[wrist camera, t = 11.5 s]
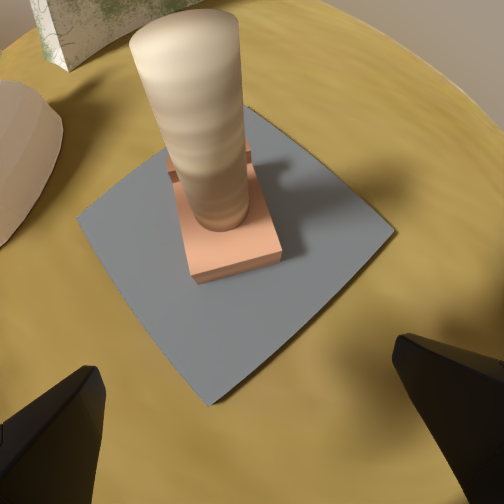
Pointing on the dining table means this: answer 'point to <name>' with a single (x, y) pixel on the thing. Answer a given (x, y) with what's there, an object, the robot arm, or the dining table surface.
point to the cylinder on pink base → (206, 140)
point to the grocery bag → (92, 24)
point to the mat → (240, 285)
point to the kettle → (24, 151)
